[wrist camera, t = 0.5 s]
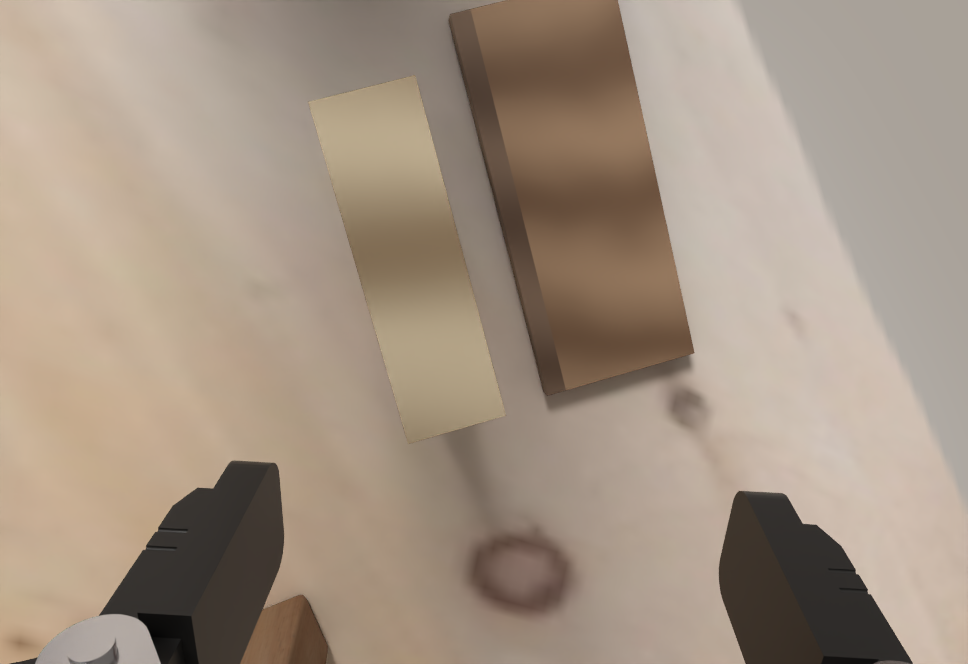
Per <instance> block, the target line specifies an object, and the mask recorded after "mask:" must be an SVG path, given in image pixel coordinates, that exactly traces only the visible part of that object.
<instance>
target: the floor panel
mask: <svg viewBox="0 0 968 664" xmlns="http://www.w3.org/2000/svg"><path fill="white" fill-rule="evenodd" d="M449 24H450V28H451V32H452V36H453V40H454V44H455V48H456V51H457V55H458V59H459V63H460V67H461V71H462V75H463V79H464V83H465V87H466V91H467V94H468V98H469V102H470V106H471V110H472V114H473V118H474V122H475V126H476V130H477V133H478V137H479V141H480V145H481V149H482V153H483V157H484V161H485V165H486V169H487V173H488V176H489V180H490V184H491V188H492V192H493V196H494V200H495V204H496V208H497V212H498V215H499V219H500V223H501V227H502V231H503V235H504V239H505V243H506V247H507V251H508V255H509V258H510V262H511V266H512V270H513V274H514V278H515V282H516V286H517V290H518V294H519V297H520V301H521V305H522V309H523V313H524V317H525V321H526V325H527V329H528V333H529V336H530V340H531V344H532V348H533V352H534V356H535V360H536V364H537V368H538V372H539V376H540V379H541V383H542V387H543V391H544V392H545V394H546V395H547V396H548V395H552V394H555V393H559V392H562V391H566V390H569V389H573V388H576V387H579V386H583V385H586V384H590V383H593V382H597V381H600V380H604V379H607V378H610V377H614V376H617V375H621V374H624V373H628V372H631V371H635V370H638V369H642V368H645V367H648V366H652V365H655V364H659V363H662V362H666V361H669V360H673V359H676V358H679V357H683V356H686V355H690V354H693V353H694V349H693V344H692V340H691V335H690V331H689V326H688V321H687V317H686V312H685V308H684V303H683V298H682V294H681V289H680V285H679V280H678V275H677V271H676V266H675V262H674V257H673V252H672V248H671V243H670V239H669V234H668V229H667V225H666V220H665V216H664V211H663V206H662V202H661V197H660V193H659V188H658V183H657V179H656V174H655V170H654V165H653V160H652V156H651V151H650V147H649V142H648V137H647V133H646V128H645V124H644V119H643V115H642V110H641V105H640V101H639V96H638V92H637V87H636V82H635V78H634V73H633V69H632V64H631V59H630V55H629V50H628V46H627V41H626V36H625V32H624V27H623V23H622V18H621V13H620V9H619V4H618V0H506V1H502V2H498V3H494V4H490V5H485V6H481V7H477V8H473V9H469V10H465V11H461V12H457V13H453V14H450V16H449Z"/></svg>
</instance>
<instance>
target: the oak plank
mask: <svg viewBox="0 0 968 664" xmlns="http://www.w3.org/2000/svg"><path fill="white" fill-rule="evenodd" d="M308 103H309V107H310V110H311V114H312V117H313V120H314V124H315V127H316V131H317V134H318V138H319V141H320V144H321V148H322V151H323V155H324V158H325V161H326V165H327V168H328V172H329V175H330V179H331V182H332V185H333V189H334V192H335V196H336V199H337V202H338V206H339V209H340V213H341V216H342V220H343V223H344V226H345V230H346V233H347V237H348V240H349V243H350V247H351V250H352V254H353V257H354V261H355V264H356V267H357V271H358V274H359V278H360V281H361V284H362V288H363V291H364V295H365V298H366V302H367V305H368V308H369V312H370V315H371V319H372V322H373V325H374V329H375V332H376V336H377V339H378V343H379V346H380V349H381V353H382V356H383V360H384V363H385V367H386V370H387V373H388V377H389V380H390V384H391V387H392V390H393V394H394V397H395V401H396V404H397V408H398V411H399V414H400V418H401V421H402V425H403V428H404V431H405V435H406V438H407V442H408V444H410V443H414V442H417V441H421V440H424V439H427V438H431V437H434V436H438V435H441V434H445V433H448V432H451V431H455V430H458V429H462V428H465V427H469V426H472V425H476V424H479V423H482V422H486V421H489V420H493V419H496V418H500V417H503V416H506V414H505V410H504V406H503V402H502V399H501V395H500V391H499V387H498V384H497V380H496V376H495V373H494V369H493V365H492V361H491V358H490V354H489V350H488V346H487V343H486V339H485V335H484V331H483V328H482V324H481V320H480V316H479V313H478V309H477V305H476V301H475V298H474V294H473V290H472V286H471V283H470V279H469V275H468V271H467V268H466V264H465V260H464V256H463V253H462V249H461V245H460V241H459V238H458V234H457V230H456V226H455V223H454V219H453V215H452V211H451V208H450V204H449V200H448V196H447V193H446V189H445V185H444V181H443V178H442V174H441V170H440V166H439V163H438V159H437V155H436V151H435V148H434V144H433V140H432V136H431V133H430V129H429V125H428V121H427V118H426V114H425V110H424V106H423V103H422V99H421V95H420V91H419V88H418V84H417V80H416V76H415V75H413V76H409V77H405V78H401V79H397V80H393V81H389V82H385V83H381V84H377V85H373V86H369V87H365V88H362V89H358V90H354V91H350V92H346V93H342V94H338V95H334V96H330V97H326V98H322V99H318V100H314V101H310V102H308Z"/></svg>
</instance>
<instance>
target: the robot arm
mask: <svg viewBox="0 0 968 664" xmlns="http://www.w3.org/2000/svg"><path fill="white" fill-rule="evenodd" d="M283 546H284V527H283V515H282V503H281V491H280V478H279V470H278V467H277V465H276V464H275V463H265V462H248V461H231V462H230V463H229V464H228V466H227V467H226V469H225V471H224V472H223V474H222V475H221V477H220V479H219V480H218V482H217V484H216V485H215V487H214V488H213V489H210V488H197V489H195V490H194V491H193V492H191V493H190V494H188V495H187V496H186V497H184V498H183V499H182V500H180V501H179V502H178V503H176V504H175V505H173V507H172V508H171V510H170V511H169V513H168V514H167V515H166V517H165V518H164V520H163V521H162V523H161V524H160V526H159V527H158V532H155V533H154V535H153V536H152V538H151V539H150V541H149V542H148V544H147V545H146V550H143V551H142V553H141V554H140V556H139V557H138V559H137V560H136V562H135V563H134V564H133V566H132V567H131V569H130V570H129V572H128V573H127V575H126V576H125V578H124V579H123V581H122V582H121V584H120V585H119V587H118V588H117V590H116V591H115V593H114V594H113V596H112V597H111V599H110V600H109V602H108V603H107V605H106V606H105V608H104V609H103V611H102V612H101V613H100V615H99V616H96V617H92V618H89V619H86V620H83V621H81V622H79V623H76V624H74V625H72V626H71V627H69V628H67V629H65V630H64V631H62V632H61V633H59V634H58V635H57V636H56V637H54V638H53V639H52V640H51V641H50V642H49V643H48V644H47V645H46V646H45V647H44V648H43V650H42V651H41V653H40V654H39V656H38V657H37V658H34V659H30V660H26V661H21V662H16V663H11V664H240V663H241V660H242V658H243V656H244V653H245V651H246V648H247V646H248V643H249V641H250V639H251V636H252V634H253V631H254V629H255V626H256V624H257V621H258V619H259V617H260V614H261V612H262V609H263V607H264V604H265V602H266V599H267V597H268V595H269V592H270V590H271V587H272V585H273V582H274V580H275V578H276V575H277V573H278V570H279V567H280V563H281V559H282V554H283ZM855 571H856V570H855V568H854V566H853V565H852V563H851V561H850V560H849V558H848V557H847V555H846V553H845V552H844V550H843V548H842V547H841V546H840V545H839V544H838V543H837V542H836V541H835V540H833V539H832V538H831V537H830V536H829V535H828V534H826V533H825V532H824V531H823V530H822V529H821V528H819V527H818V526H817V525H810V524H802V522H801V520H800V518H799V517H798V515H797V513H796V511H795V509H794V508H793V506H792V504H791V502H790V501H789V499H788V497H787V496H786V495H785V494H783V493H767V492H749V491H739V492H738V493H737V494H736V495H735V498H734V501H733V505H732V509H731V513H730V518H729V522H728V527H727V531H726V536H725V540H724V544H723V549H722V553H721V558H720V564H719V584H720V591H721V595H722V599H723V602H724V604H725V607H726V610H727V613H728V616H729V618H730V621H731V624H732V627H733V630H734V632H735V635H736V638H737V641H738V644H739V646H740V649H741V652H742V655H743V658H744V660H745V663H746V664H913V663H912V661H911V659H910V658H909V656H908V654H907V653H906V651H905V650H904V648H903V646H902V645H901V643H900V641H899V640H898V638H897V637H896V635H895V633H894V632H893V630H892V628H891V627H890V625H889V623H888V622H887V620H886V619H885V617H884V615H883V614H882V612H881V610H880V609H879V607H878V606H877V604H876V602H875V601H874V599H873V597H872V596H871V594H868V592H867V590H868V589H867V588H866V586H865V584H864V583H863V581H862V579H861V578H860V576H859V575H857V574H856V572H855Z"/></svg>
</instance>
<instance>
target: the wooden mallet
mask: <svg viewBox="0 0 968 664" xmlns="http://www.w3.org/2000/svg"><path fill="white" fill-rule="evenodd" d="M327 649H328V646H327V644H326V642H325V639H324V637H323V635H322V633H321V630H320V628H319V626H318V624H317V622H316V619H315V617H314V615H313V613H312V610H311V608H310V606H309V604H308V601H307V599H306V598H305V597H304V596H303V595H298V596H296V597H293V598H291V599H288V600H286V601H283V602H281V603H278V604H276V605H273V606H271V607H268V608H266V609H263V610H262V612H261V614H260V617H259V619H258V621H257V624H256V626H255V629H254V631H253V634H252V636H251V639H250V641H249V643H248V646H247V648H246V651H245V653H244V656H243V658H242V660H241V663H240V664H325V663H326V657H327Z"/></svg>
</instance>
